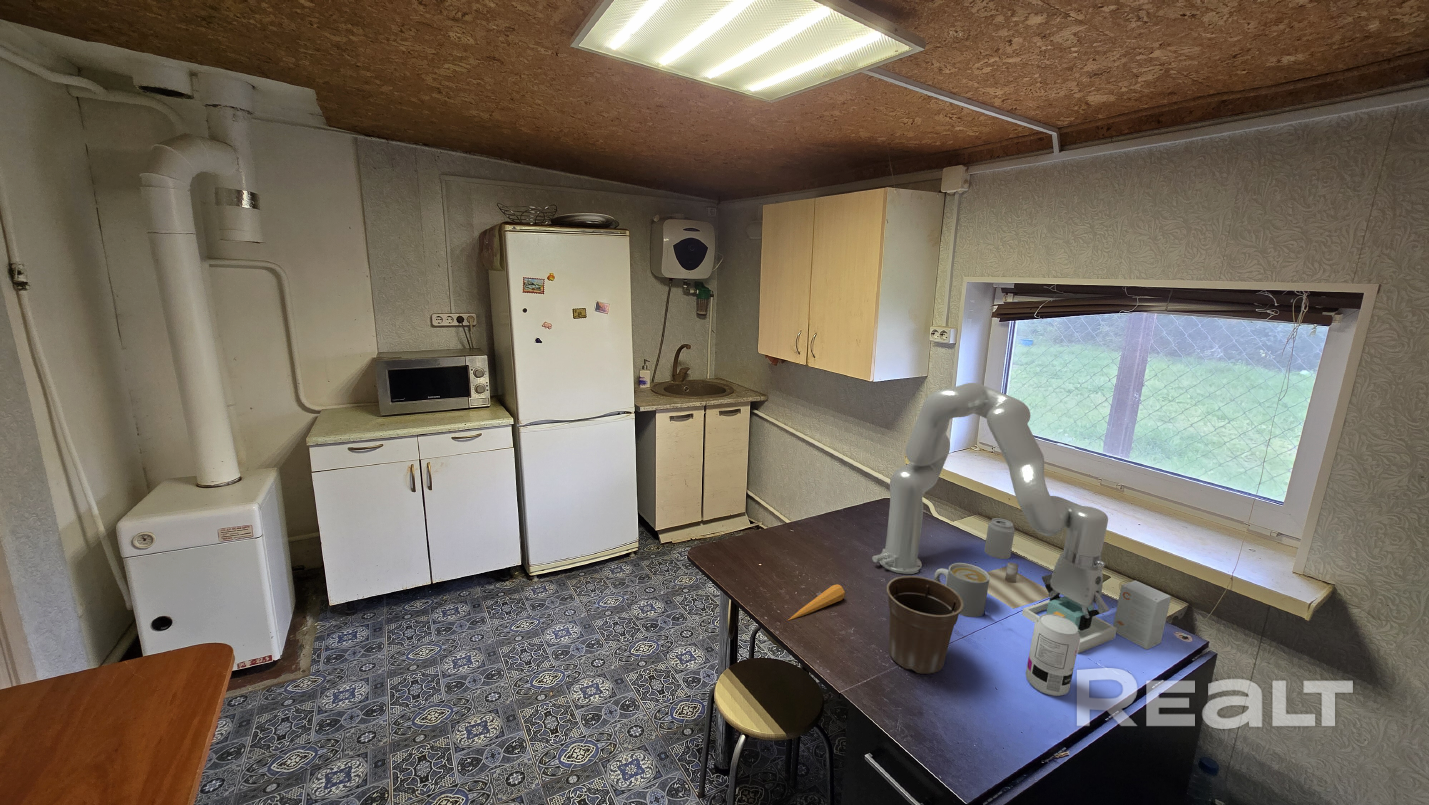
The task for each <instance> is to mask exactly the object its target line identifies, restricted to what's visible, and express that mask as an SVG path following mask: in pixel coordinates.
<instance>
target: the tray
mask: <svg viewBox="0 0 1429 805" xmlns="http://www.w3.org/2000/svg"><path fill="white" fill-rule="evenodd" d="M1049 601H1050V599H1048V600H1045V601H1042V602H1039V603H1036V604H1033V605H1030V606H1027V607H1024V608H1022V611H1021V612H1022V613H1021V615H1022V617H1024V618H1026V619H1028V620H1029V621H1031V622H1033V623H1034V624H1035V622H1036V621H1037V619H1039V618H1040V616H1041V615H1040V616H1039V615H1038V614H1037V613H1040V612H1043V611H1044V610H1045V611H1047V608H1048V602H1049ZM1116 630H1117V628H1116V627H1114V626H1113V624H1111V623H1108V622H1107V621H1105V620H1103V619H1102V618H1099V617H1098V616H1093V617H1092V622H1091V626H1090V628H1088V629H1085V630H1083V631H1080V630H1078V632H1079V635H1080V641H1079V646H1078V651H1077V655H1078V654H1081V653H1083V652H1085V650H1086V651H1088V650H1090V649H1093V648H1095V647H1098V646H1100V645H1102V644H1105V643H1108V642H1109V641H1110V642H1111V641H1113V640H1115V638H1116V634H1117V633H1116ZM1080 652H1081V653H1080Z"/></svg>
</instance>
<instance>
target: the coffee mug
mask: <svg viewBox="0 0 1429 805" xmlns="http://www.w3.org/2000/svg"><path fill="white" fill-rule="evenodd" d="M987 572H988V571H986V570H985V569H982V568H981V567H979V566H977V565H974V564H971V563H966V562H955V563H953V564H951V565H949V566H948V569H947V568H939V569H938V568H937V570H936V571H935V572H934V576H933V580H935V581H937V582H940V583H942V582H941V579H940V577H941V576H942V575H943V576H944V577H945V583H943V584H944V585H946V586H948V587H950V588H951V589H953V590H954V591H955V592H957V593H958V594H959V596H960V597H961V598H962V600H963V609H962V611H961V612H960V613H959V615H960V616H963V617H968V618H978V617H980V616H982V615H984V614H985V610H986V603H987V596H988V593H987V592H988V585H989V579H990V577H989V574H988V573H987Z"/></svg>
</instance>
